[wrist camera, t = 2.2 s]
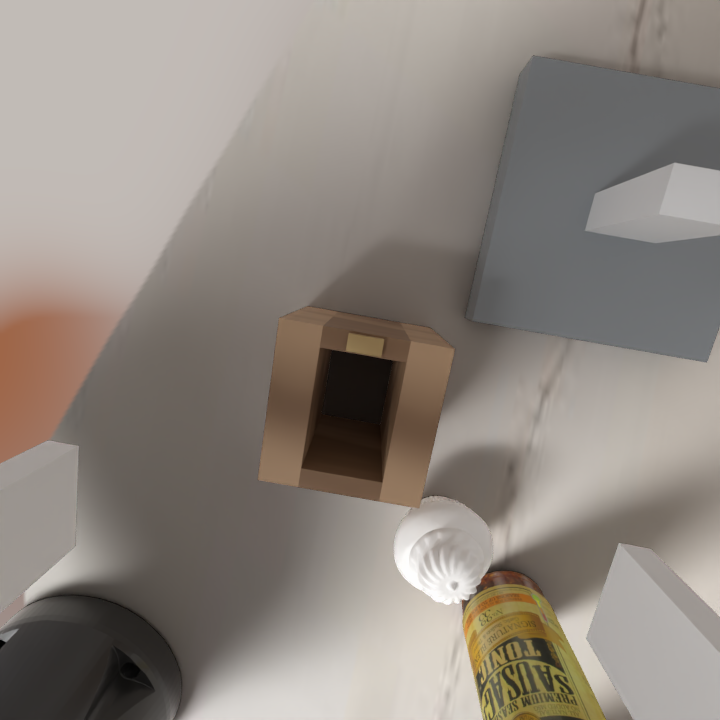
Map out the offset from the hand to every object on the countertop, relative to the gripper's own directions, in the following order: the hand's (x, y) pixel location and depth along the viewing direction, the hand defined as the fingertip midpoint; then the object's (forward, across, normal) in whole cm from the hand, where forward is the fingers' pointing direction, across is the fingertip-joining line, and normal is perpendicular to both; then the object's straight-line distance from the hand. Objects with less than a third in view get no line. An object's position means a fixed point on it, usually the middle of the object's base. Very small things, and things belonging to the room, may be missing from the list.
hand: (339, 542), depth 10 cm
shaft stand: (+17, +13, +12) cm, 25 cm away
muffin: (+18, +7, -9) cm, 21 cm away
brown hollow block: (+17, 0, 0) cm, 17 cm away
